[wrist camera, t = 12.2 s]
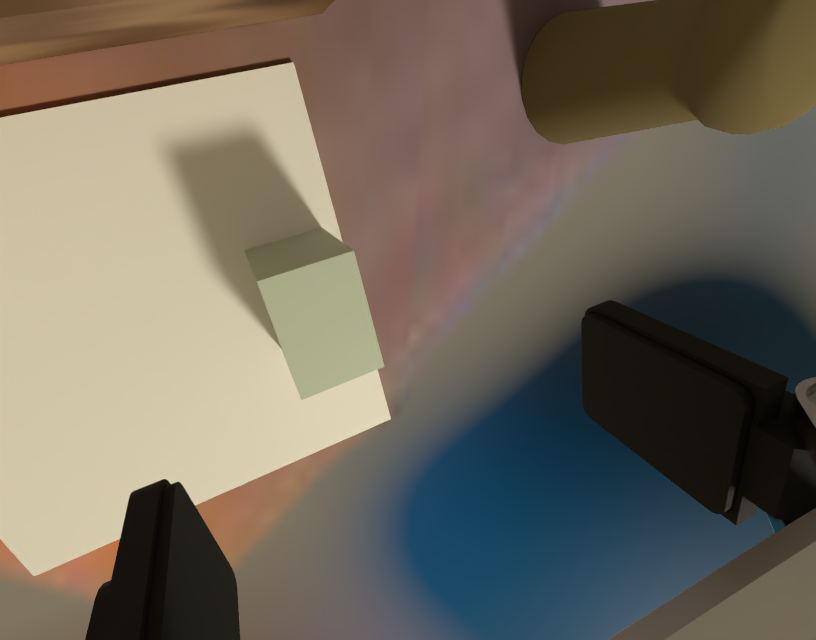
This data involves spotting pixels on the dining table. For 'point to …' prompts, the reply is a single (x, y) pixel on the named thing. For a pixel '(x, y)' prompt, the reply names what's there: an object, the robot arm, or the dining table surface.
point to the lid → (169, 305)
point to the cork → (671, 67)
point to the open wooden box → (126, 22)
